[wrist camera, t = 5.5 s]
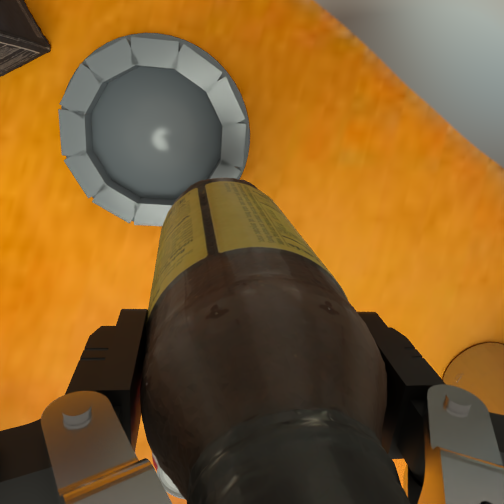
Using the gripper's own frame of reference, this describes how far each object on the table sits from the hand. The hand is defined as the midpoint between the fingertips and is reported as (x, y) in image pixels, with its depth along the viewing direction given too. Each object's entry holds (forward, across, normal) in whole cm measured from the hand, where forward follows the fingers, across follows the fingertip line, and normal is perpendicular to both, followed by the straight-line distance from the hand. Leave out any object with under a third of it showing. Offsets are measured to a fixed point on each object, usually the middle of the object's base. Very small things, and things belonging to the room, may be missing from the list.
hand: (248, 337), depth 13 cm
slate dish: (+26, +5, -3) cm, 26 cm away
